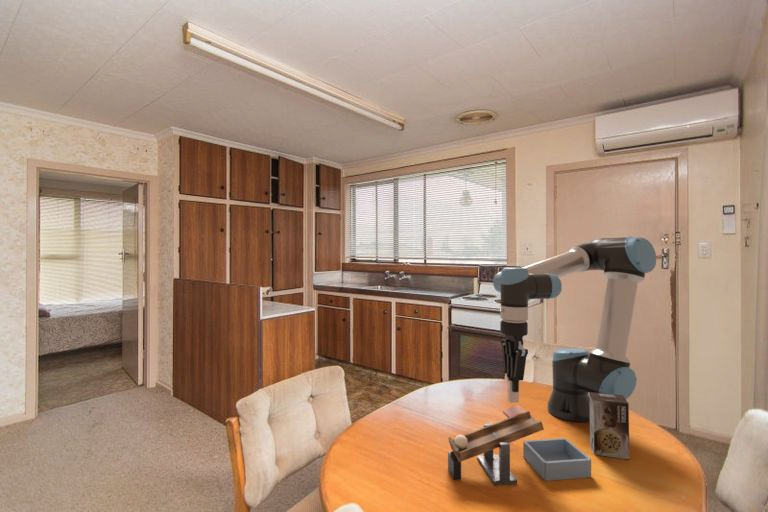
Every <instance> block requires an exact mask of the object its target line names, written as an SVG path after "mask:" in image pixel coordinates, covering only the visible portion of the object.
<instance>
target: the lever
mask: <svg viewBox="0 0 768 512" xmlns="http://www.w3.org/2000/svg"><path fill="white" fill-rule="evenodd" d="M502 413H503V414H504V416H505V417H507V418H506V419H502V420H500V421H497V422H494V423H490V424H491V425H489V426H486V427H484V426H483V427H480V428H479V429H475V430H473V431H471V432H467V433H466V434H463V435H464V436H465V437H466V438H467V441H468V445H467V447H466V448H465V449H458V448H457V447H456V445H455V443H454V439H455V438H452V437H451V436H450V437H448V442H449V446H450V448H451V450H452V451H451V452H454V454H455V456H456V458H457V459H458V461H459V462H461V463H462V462H465V461H467V460H469V459H471V458H474V457H476V456H481V455H483V454H484V453H485V452H487V451H490V450H493V451H494V450H495V449H497V448H499V443H503V442H508V443H509V444H511V443H513V442H517V441H518V440H520V439H521V440H522V439H524V438H526V437H529V436H530V435H531V436H532V435H534V434H537V433H539V432H541V431H543V430H545V429H544V424H543V422H542V420H539V421H538V420H537V419H535V418H534V417H533V416H532V414H531V412H530V411H529V410H525V409H524V408H523V407H521V406H520V405H519V404H515V405H513V406H509V407H508V408H505V409H503V410H502Z"/></svg>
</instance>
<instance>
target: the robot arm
mask: <svg viewBox="0 0 768 512" xmlns="http://www.w3.org/2000/svg"><path fill="white" fill-rule="evenodd" d="M656 264H657V254H656V250H655V247H654V246H653V244H652V243H651V242H650V240H649V239H646V238H645V237H641V236H640V237H639V236H636V237H635V236H627V237H626V236H624V237H607V238H606V237H602V238H597V239H593V240H590V241H587V242H584V243H581V244H578V245H576V246H575V245H574V246H572V247H570V248H569V249H568V250H567V251H566V252H564V253H561V254H558V255H555V256H552V257H549V258H546V259H544V260H541V261H540V260H539V261H538V262H535V263H532V264H529V265H527V266H523V267H504V268H502V269H501V271H499V272H498V273H496V274H495V275H494V277H493V279H492V285H493V288H494V290H495V291H496V293H497V292H498V293H500V309H499V313H500V319H501V321H499V322H500V323H499V325H500V330H499V332H500V333H501V334H502V335H504V339H501V340H500V344H501V350H502V361H503V372H504V374H506V378H507V402H509V403H510V404H512V403H513V404H514V403H515V404H516V403H519V402H520V381H523V380H524V376H525V369H526V361H527V357H528V354H529V351H528V349H527V348H525V347H524V336H527V335H528V334H529V333H528V331H529V330H528V329H529V325H528V322H527V321H528V319H529V300H550V299H555V298H557V297H558V296H560V294H561V293H562V287H563V286H562V282H561V278H562V277H565V276H567V275H569V274H570V275H571V274H573V273H575V272H576V273H584V272H587V271H603V275H604V276H605V278H606V279H607V282H606V288H605V293H604V298H603V299H604V300H603V306H602V311H601V317H600V323H599V329H598V334H597V341H596V345H595V348H594V349H593V350H591V351H588V350H587V349H582V348H572V347H571V348H560V349H556V350H555V351H553V353H552V361H551V362H552V363H551V365H552V391H551V393H550V396H549V400H548V402H547V411H548V413H550V414H551V415H552V416H554V417H556V418H559V419H561V420H565V421H569V422H575V423H586V422H590V396H589V393H590V392H592V393H604V394H614V395H623V396H624V398H625V399H626V400H628V399H629V398H630V397H631V395H632V394H634V391H635V390H636V387H637V386H636V385H637V375H636V372H635V371H634V370H633V369H632V368H631V367H630V366H631V361H630V359H628V357H627V351H628V344H629V340H630V339H629V337H630V332H631V327H632V326H631V325H632V321H633V320H632V319H633V314H634V308H635V301H636V296H637V291H638V290H637V289H638V286H639V285H638V284H640V283H641V282H643V281H644V280H645V277H646V276H645V275H646V274H647V273H651V272H652V271H654V269H655V268H656Z"/></svg>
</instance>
